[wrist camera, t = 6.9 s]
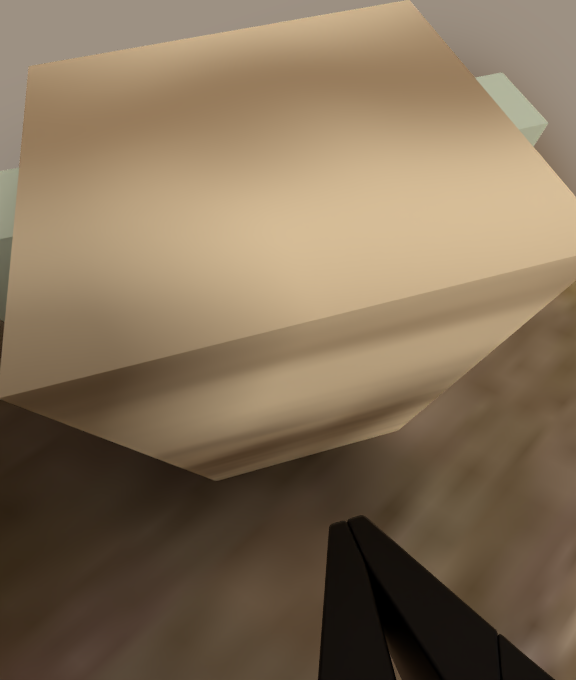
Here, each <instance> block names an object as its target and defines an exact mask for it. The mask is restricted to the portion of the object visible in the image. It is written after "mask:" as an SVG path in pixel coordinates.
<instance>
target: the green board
mask: <svg viewBox="0 0 576 680" xmlns="http://www.w3.org/2000/svg"><path fill="white" fill-rule="evenodd" d="M476 80H477V81H478V82H479V83H480V84H481V85H482V87H483V88H484V89H485V90H486V91H487V93H488V94H489V95H490V96H491V97H492V98H493V100H494V101H495V102H496V103H497V104H498V106H499V107H500V108H501V109H502V110H503V112H504V113H505V114H506V115H507V116H508V117H509V119H510V120H511V121H512V122H513V123H514V125H515V126H516V127H517V128H518V129H519V130H520V132H521V133H522V134H523V135H524V136H525V138H526V139H527V140H528V141H529V142H530V143H531V145H532V146H533V147H534V145H535V143H536V142H537V140H538V139H539V137H540V136H541V134H542V132H543V131H544V129H545V128H546V126H547V125H548V122H547V121H546V120H545V119H544V118H543V116H541V114H540V113H539V112H538V111H537V110H536V109H535V108H534V107H533V106H532V104H531V103H530V102H529V101H528V100H527V99H526V98H525V97H524V96H523V95H522V93H521V92H520V91H519V90H518V89H517V88H516V87H515V86H514V85H513V84H512V83H511V82H510V80H509V79H508V78H507V77H506V76H505V75H504V74H503V73H497V74H492V75H487V76H482V77H477V78H476ZM18 175H19V168H15V169H10V170H4V171H0V320H2V321H3V322H5V313H6V302H7V292H8V281H9V270H10V260H11V249H12V239H13V228H14V217H15V207H16V196H17V186H18Z"/></svg>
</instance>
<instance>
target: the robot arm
mask: <svg viewBox="0 0 576 680" xmlns="http://www.w3.org/2000/svg"><path fill="white" fill-rule="evenodd" d="M389 652H390V653H389ZM390 654H391V657H392V659H393V661H394V663H395V665H396V668H397V670H398V672H399V674H400V677H401V679H402V680H555V679H553V678H552V677H551V676H550V675H549V674H547V673H546V672H545V671H544V670H543V669H541V668H540V667H539V666H538V665H537V664H535V663H534V662H533V661H532V660H531V659H529V658H528V657H527V656H526V655H525V654H523V653H522V652H521V651H520V650H519V649H518V648H516V647H515V646H514V645H513V644H512V643H511V642H510V641H508V640H507V639H506V638H505V637H504V636H503V635H501V634H499V635H498V633H497V631H496V629H494V628H493V627H492V626H491V625H490V624H489V623H487V622H486V621H485V620H484V619H483V618H482V617H481V616H479V615H478V614H477V613H476V612H475V611H474V610H472V609H471V608H470V607H469V606H468V605H467V604H466V603H464V602H463V601H462V600H461V599H460V598H459V597H458V596H456V595H455V594H454V593H453V592H452V591H451V590H449V589H448V588H447V587H446V586H445V585H444V584H443V583H441V582H440V581H439V580H438V579H437V578H436V577H435V576H433V575H432V574H431V573H430V572H429V571H428V570H426V569H425V568H424V567H423V566H422V565H421V564H420V563H418V562H417V561H416V560H415V559H414V558H413V557H411V556H410V555H409V554H408V553H407V552H406V551H405V550H403V549H402V548H401V547H400V546H399V545H398V544H397V543H395V542H394V541H393V540H392V539H391V538H390V537H388V536H387V535H386V534H385V533H384V532H383V531H382V530H380V529H379V528H378V527H377V526H376V525H375V524H374V523H372V522H371V521H370V520H369V519H368V518H367V517H365V516H363V515H360V516H357V517H353V518H350V519H348V521H347V522H346V521H340V522H337V523H333V524H331V525H330V527H329V536H328V550H327V564H326V577H325V591H324V605H323V619H322V632H321V646H320V660H319V673H318V680H396V677H395V673H394V669H393V665H392V661H391V657H390Z"/></svg>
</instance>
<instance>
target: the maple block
mask: <svg viewBox="0 0 576 680" xmlns="http://www.w3.org/2000/svg"><path fill="white" fill-rule="evenodd" d="M574 281H576V197H575V196H574V194H573V193H572V192H571V191H570V190H569V188H568V187H567V186H566V185H565V184H564V183H563V181H562V180H561V179H560V178H559V177H558V175H557V174H556V173H555V172H554V171H553V169H552V168H551V167H550V166H549V165H548V164H547V163H546V161H545V160H544V159H543V158H542V157H541V155H540V154H539V153H538V152H537V151H536V149H535V148H534V147H533V146H532V145H531V143H530V142H529V141H528V140H527V139H526V138H525V136H524V135H523V134H522V133H521V132H520V130H519V129H518V128H517V127H516V126H515V125H514V123H513V122H512V121H511V120H510V119H509V117H508V116H507V115H506V114H505V113H504V112H503V110H502V109H501V108H500V107H499V106H498V104H497V103H496V102H495V101H494V100H493V98H492V97H491V96H490V95H489V94H488V93H487V91H486V90H485V89H484V88H483V87H482V85H481V84H480V83H479V82H478V81H477V80H476V78H475V77H474V76H473V75H472V74H471V73H470V71H469V70H468V69H467V68H466V67H465V65H464V64H463V63H462V62H461V61H460V60H459V58H458V57H457V56H456V55H455V54H454V52H453V51H452V50H451V49H450V48H449V46H448V45H447V44H446V43H445V42H444V41H443V39H442V38H441V37H440V36H439V35H438V33H437V32H436V31H435V30H434V29H433V27H432V26H431V25H430V24H429V23H428V22H427V20H426V19H425V18H424V17H423V16H422V14H421V13H420V12H419V11H418V10H417V9H416V7H415V6H414V5H413V4H412V3H411V1H410V0H405V1H399V2H394V3H388V4H383V5H376V6H371V7H365V8H359V9H353V10H348V11H342V12H336V13H331V14H325V15H320V16H313V17H308V18H302V19H296V20H291V21H285V22H279V23H273V24H268V25H262V26H257V27H251V28H245V29H239V30H234V31H227V32H222V33H216V34H210V35H204V36H199V37H193V38H187V39H182V40H176V41H171V42H164V43H159V44H153V45H147V46H141V47H136V48H130V49H124V50H119V51H113V52H108V53H101V54H96V55H90V56H84V57H79V58H73V59H67V60H61V61H55V62H50V63H44V64H39V65H33V66H29V69H28V80H27V91H26V102H25V111H24V123H23V133H22V144H21V154H20V165H19V175H18V186H17V196H16V207H15V217H14V228H13V239H12V249H11V260H10V270H9V281H8V292H7V302H6V313H5V324H4V334H3V345H2V355H1V366H0V400H3V401H5V402H8V403H11V404H13V405H16V406H19V407H21V408H24V409H27V410H29V411H32V412H34V413H37V414H40V415H42V416H45V417H48V418H50V419H53V420H56V421H58V422H61V423H64V424H66V425H69V426H72V427H74V428H77V429H79V430H82V431H85V432H87V433H90V434H93V435H95V436H98V437H101V438H103V439H106V440H109V441H111V442H114V443H117V444H119V445H122V446H124V447H127V448H130V449H132V450H135V451H138V452H140V453H143V454H146V455H148V456H151V457H154V458H156V459H159V460H162V461H164V462H167V463H169V464H172V465H175V466H177V467H180V468H183V469H185V470H188V471H191V472H193V473H196V474H199V475H201V476H204V477H207V478H209V479H212V480H214V481H219V480H222V479H226V478H229V477H233V476H237V475H240V474H244V473H247V472H251V471H254V470H258V469H262V468H265V467H269V466H272V465H276V464H280V463H283V462H287V461H290V460H294V459H298V458H301V457H305V456H308V455H312V454H315V453H319V452H323V451H326V450H330V449H333V448H337V447H341V446H344V445H348V444H351V443H355V442H358V441H362V440H366V439H369V438H373V437H376V436H380V435H384V434H387V433H391V432H394V431H398V430H399V429H400V428H402V427H403V426H404V425H405V424H406V423H407V422H409V421H410V420H411V419H412V418H413V417H415V416H416V415H417V414H418V413H419V412H420V411H422V410H423V409H424V408H425V407H426V406H428V405H429V404H430V403H431V402H432V401H433V400H435V399H436V398H437V397H438V396H439V395H441V394H442V393H443V392H444V391H445V390H447V389H448V388H449V387H450V386H451V385H452V384H454V383H455V382H456V381H457V380H458V379H460V378H461V377H462V376H463V375H464V374H465V373H467V372H468V371H469V370H470V369H471V368H473V367H474V366H475V365H476V364H477V363H478V362H480V361H481V360H482V359H483V358H484V357H486V356H487V355H488V354H489V353H490V352H491V351H493V350H494V349H495V348H496V347H497V346H499V345H500V344H501V343H502V342H503V341H504V340H506V339H507V338H508V337H509V336H510V335H512V334H513V333H514V332H515V331H516V330H518V329H519V328H520V327H521V326H522V325H523V324H525V323H526V322H527V321H528V320H529V319H531V318H532V317H533V316H534V315H535V314H536V313H538V312H539V311H540V310H541V309H542V308H544V307H545V306H546V305H547V304H548V303H549V302H551V301H552V300H553V299H554V298H555V297H557V296H558V295H559V294H560V293H561V292H562V291H564V290H565V289H566V288H567V287H568V286H570V285H571V284H572V283H573V282H574Z"/></svg>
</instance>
